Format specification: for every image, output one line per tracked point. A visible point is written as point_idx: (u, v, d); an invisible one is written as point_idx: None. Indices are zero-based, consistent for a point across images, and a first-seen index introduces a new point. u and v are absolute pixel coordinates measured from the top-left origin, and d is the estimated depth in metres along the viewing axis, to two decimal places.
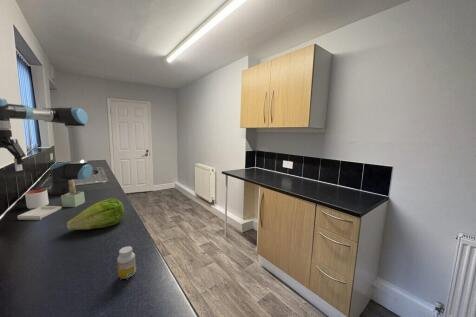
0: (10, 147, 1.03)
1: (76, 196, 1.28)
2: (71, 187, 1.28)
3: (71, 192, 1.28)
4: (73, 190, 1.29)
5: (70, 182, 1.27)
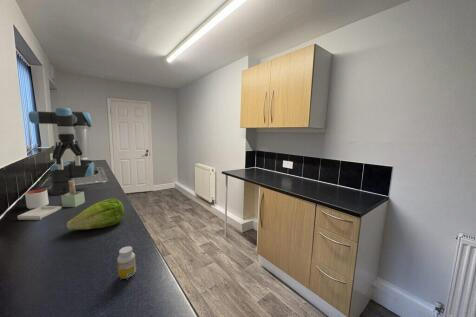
0: (61, 148, 1.21)
1: (76, 196, 1.28)
2: (71, 187, 1.28)
3: (71, 192, 1.28)
4: (73, 190, 1.29)
5: (70, 182, 1.27)
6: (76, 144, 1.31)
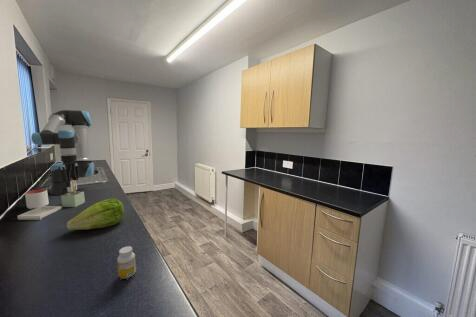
0: (66, 171, 1.25)
1: (76, 196, 1.28)
2: None
3: (71, 192, 1.28)
4: (73, 190, 1.29)
5: None
6: (77, 166, 1.32)
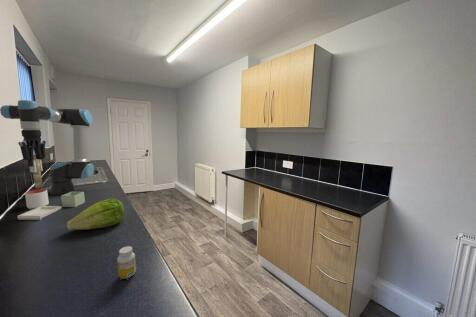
0: (28, 148, 1.09)
1: (76, 196, 1.28)
2: None
3: (35, 173, 1.12)
4: (37, 170, 1.13)
5: None
6: (43, 144, 1.16)
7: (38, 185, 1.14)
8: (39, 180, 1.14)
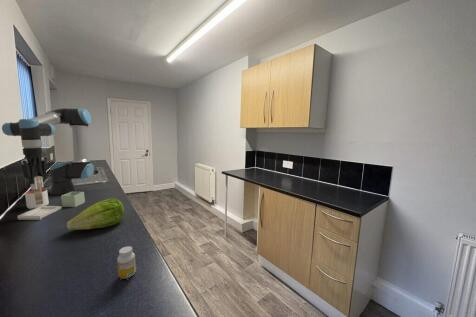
0: (29, 166, 1.10)
1: (76, 196, 1.28)
2: None
3: (36, 190, 1.13)
4: (38, 188, 1.14)
5: None
6: (44, 161, 1.17)
7: (39, 202, 1.15)
8: (40, 197, 1.15)
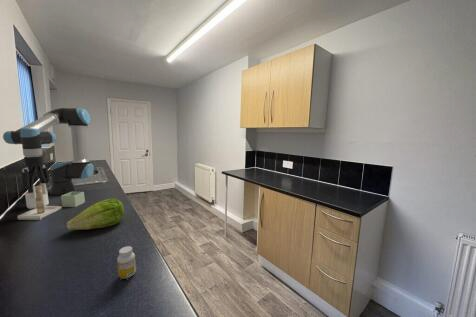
0: (29, 174, 1.11)
1: (76, 196, 1.28)
2: (37, 194, 1.14)
3: (37, 199, 1.14)
4: (40, 197, 1.15)
5: (36, 188, 1.13)
6: (45, 168, 1.18)
7: (40, 211, 1.16)
8: (41, 206, 1.16)
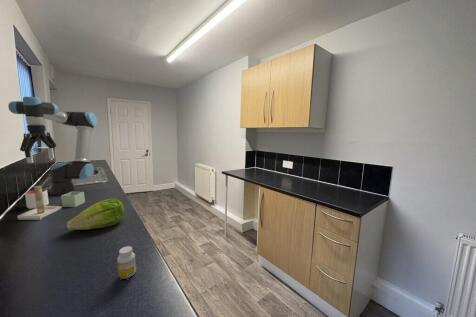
0: (30, 140, 1.14)
1: (76, 196, 1.28)
2: (37, 194, 1.14)
3: (37, 199, 1.14)
4: (40, 197, 1.15)
5: (36, 188, 1.13)
6: (48, 136, 1.23)
7: (40, 211, 1.16)
8: (41, 206, 1.16)
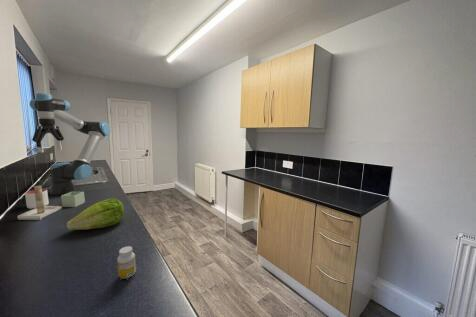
0: (41, 132, 1.26)
1: (76, 196, 1.28)
2: (37, 194, 1.14)
3: (37, 199, 1.14)
4: (40, 197, 1.15)
5: (36, 188, 1.13)
6: (57, 129, 1.36)
7: (40, 211, 1.16)
8: (41, 206, 1.16)
